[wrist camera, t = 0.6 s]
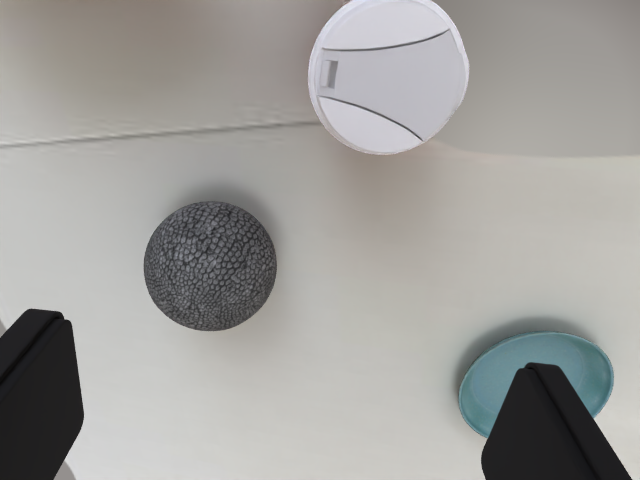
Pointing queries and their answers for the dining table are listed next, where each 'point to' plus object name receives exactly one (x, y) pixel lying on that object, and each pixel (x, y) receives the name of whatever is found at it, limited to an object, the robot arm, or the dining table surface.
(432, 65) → the paper cup
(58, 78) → the dining table surface
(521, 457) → the robot arm
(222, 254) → the decorative ball
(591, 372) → the saucer
